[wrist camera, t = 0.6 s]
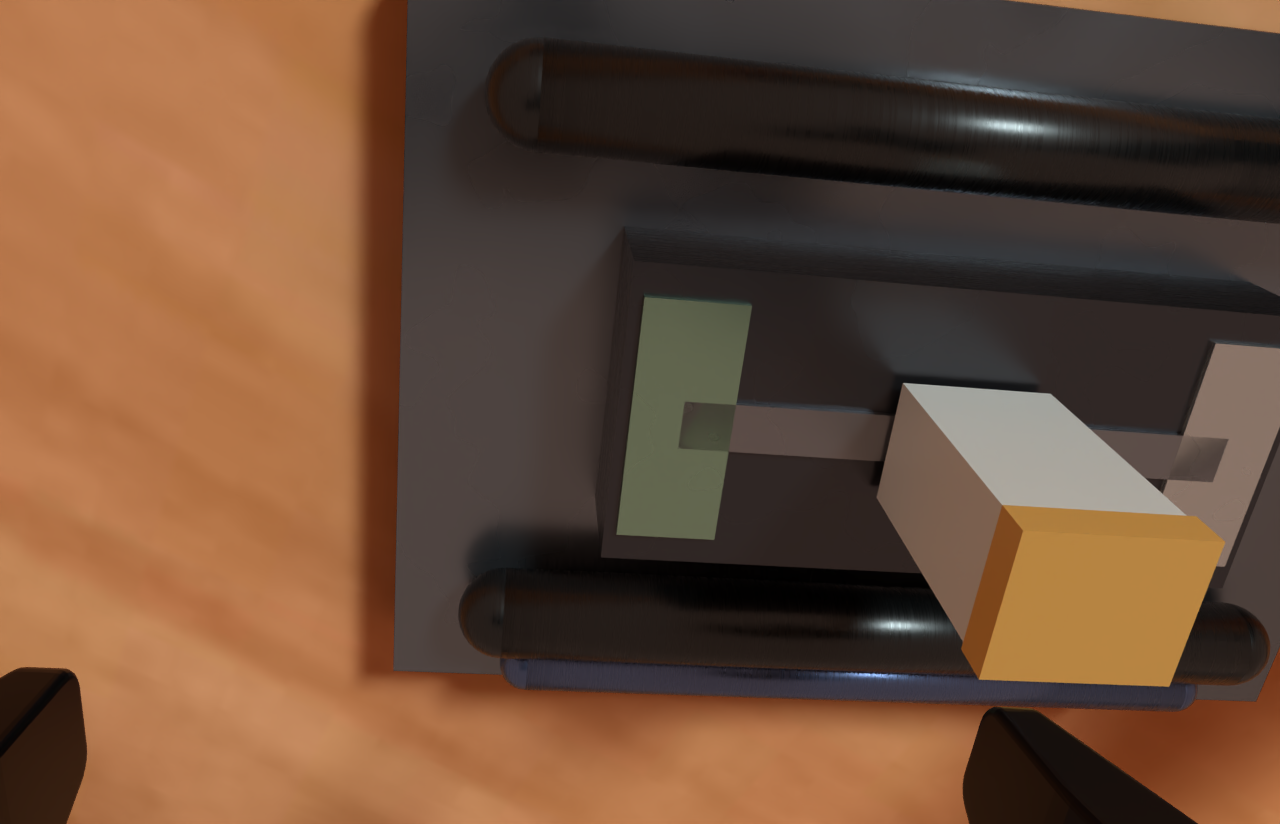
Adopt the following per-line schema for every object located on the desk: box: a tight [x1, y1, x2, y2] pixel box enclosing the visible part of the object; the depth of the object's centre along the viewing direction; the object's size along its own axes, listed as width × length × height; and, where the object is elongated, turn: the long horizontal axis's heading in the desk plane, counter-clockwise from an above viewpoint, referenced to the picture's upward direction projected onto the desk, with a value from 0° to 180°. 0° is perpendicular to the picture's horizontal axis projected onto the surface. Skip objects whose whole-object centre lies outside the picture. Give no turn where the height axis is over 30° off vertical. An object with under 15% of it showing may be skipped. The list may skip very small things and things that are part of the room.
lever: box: [877, 383, 1225, 687], centre depth 15 cm, size 2×2×4 cm
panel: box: [393, 0, 1280, 712], centre depth 18 cm, size 18×13×4 cm
